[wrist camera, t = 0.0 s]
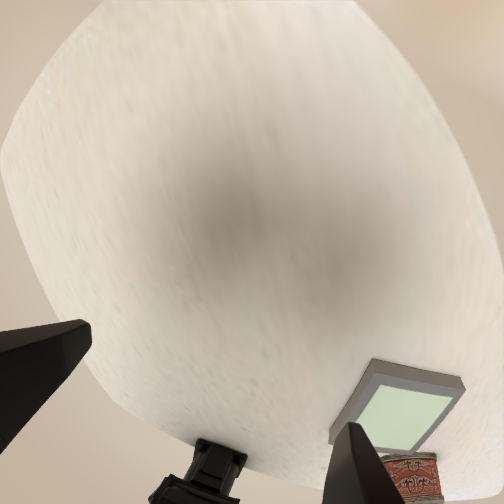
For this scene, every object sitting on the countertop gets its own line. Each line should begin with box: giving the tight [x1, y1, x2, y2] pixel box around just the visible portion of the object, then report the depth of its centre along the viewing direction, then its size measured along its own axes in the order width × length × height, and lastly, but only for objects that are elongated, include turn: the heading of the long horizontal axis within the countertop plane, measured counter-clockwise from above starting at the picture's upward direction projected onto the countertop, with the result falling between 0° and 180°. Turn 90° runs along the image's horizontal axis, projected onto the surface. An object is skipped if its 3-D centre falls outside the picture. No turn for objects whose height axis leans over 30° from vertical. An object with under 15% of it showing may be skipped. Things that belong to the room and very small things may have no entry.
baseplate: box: [328, 359, 466, 455], centre depth 22 cm, size 10×10×2 cm
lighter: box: [380, 452, 444, 504], centre depth 20 cm, size 8×3×10 cm, turn 87°
